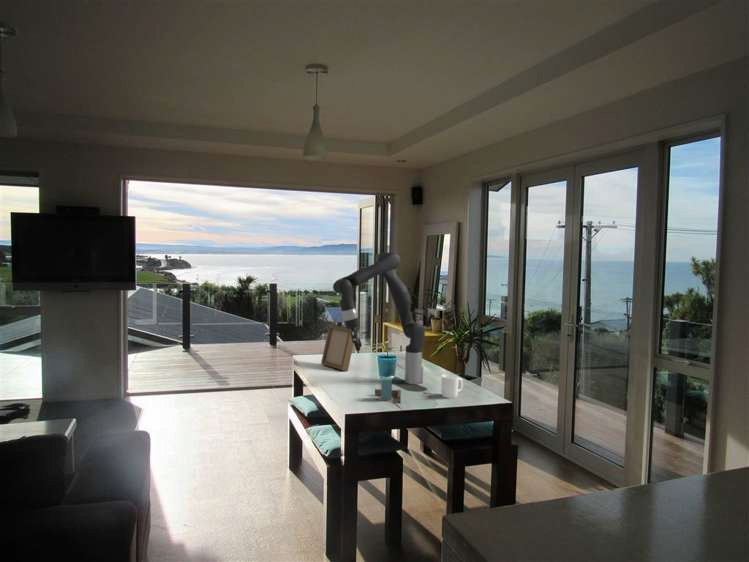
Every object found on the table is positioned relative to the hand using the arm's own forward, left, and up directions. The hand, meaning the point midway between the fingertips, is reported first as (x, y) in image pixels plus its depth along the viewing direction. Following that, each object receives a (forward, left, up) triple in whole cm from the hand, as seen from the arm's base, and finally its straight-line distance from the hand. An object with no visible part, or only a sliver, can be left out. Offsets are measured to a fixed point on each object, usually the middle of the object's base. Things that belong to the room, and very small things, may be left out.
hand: (359, 348), depth 279 cm
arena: (-10, +14, -23) cm, 29 cm away
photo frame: (-5, -60, -23) cm, 64 cm away
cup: (-45, +15, -23) cm, 53 cm away
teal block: (-10, +14, -22) cm, 29 cm away
